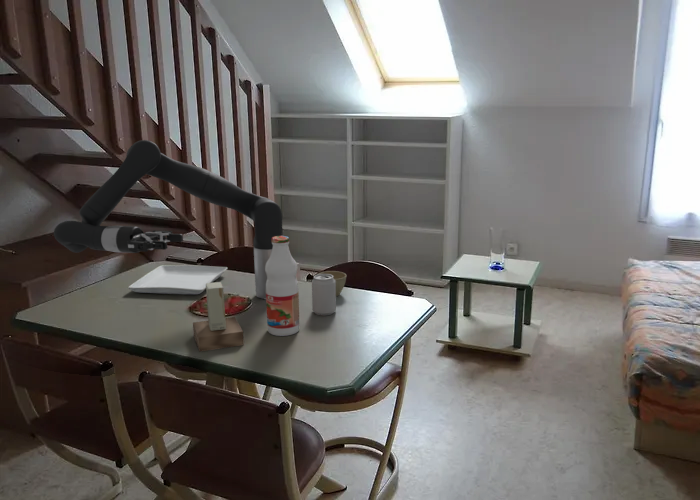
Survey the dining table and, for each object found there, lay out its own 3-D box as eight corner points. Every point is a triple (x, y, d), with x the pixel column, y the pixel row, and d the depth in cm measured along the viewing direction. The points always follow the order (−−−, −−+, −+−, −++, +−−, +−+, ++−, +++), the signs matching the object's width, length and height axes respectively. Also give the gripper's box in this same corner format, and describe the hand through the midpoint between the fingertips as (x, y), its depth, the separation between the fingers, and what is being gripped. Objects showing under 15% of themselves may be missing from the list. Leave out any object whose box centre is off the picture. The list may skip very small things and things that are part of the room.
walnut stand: (235, 329, 180) (234, 316, 179) (243, 344, 169) (243, 331, 168) (193, 335, 176) (192, 322, 175) (199, 351, 165) (198, 337, 164)
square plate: (161, 273, 237) (160, 263, 236) (229, 275, 234) (228, 266, 233) (127, 296, 211) (126, 285, 210) (203, 299, 208) (202, 288, 207)
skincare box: (226, 329, 169) (223, 287, 166) (210, 331, 168) (207, 289, 165) (223, 321, 175) (221, 281, 172) (208, 323, 174) (205, 282, 171)
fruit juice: (306, 330, 179) (303, 237, 172) (280, 339, 173) (276, 243, 166) (286, 322, 186) (283, 232, 178) (261, 330, 179) (256, 237, 172)
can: (340, 310, 195) (339, 274, 192) (329, 317, 189) (328, 280, 186) (319, 306, 199) (318, 271, 196) (308, 314, 192) (307, 277, 189)
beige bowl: (336, 301, 203) (336, 281, 202) (311, 296, 209) (311, 276, 207) (352, 293, 212) (352, 273, 210) (328, 288, 217) (327, 269, 215)
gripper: (105, 231, 166) (159, 234, 162) (135, 221, 179) (186, 223, 175) (109, 258, 167) (162, 261, 164) (138, 245, 181) (188, 248, 177)
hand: (174, 241), depth 169 cm, fingers open, 8 cm apart
